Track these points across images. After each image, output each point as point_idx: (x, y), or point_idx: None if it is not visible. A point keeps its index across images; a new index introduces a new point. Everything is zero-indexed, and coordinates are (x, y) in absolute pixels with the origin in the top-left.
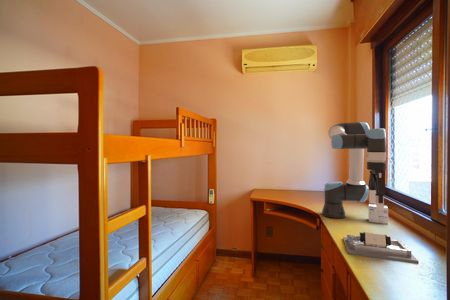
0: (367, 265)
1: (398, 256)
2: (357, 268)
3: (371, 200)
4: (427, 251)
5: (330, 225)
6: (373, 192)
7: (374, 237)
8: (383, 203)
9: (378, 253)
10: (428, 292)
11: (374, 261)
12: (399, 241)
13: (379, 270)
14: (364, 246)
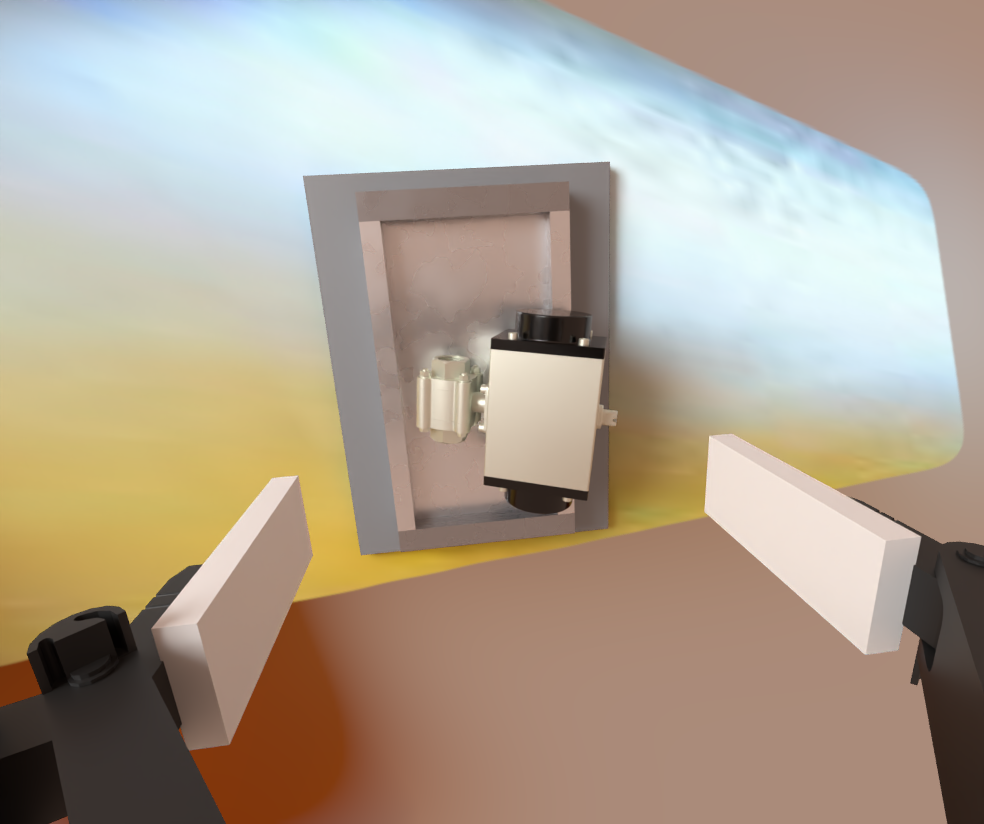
0: None
1: (579, 268)
2: None
3: (294, 558)
4: (345, 12)
5: None
6: (229, 633)
7: (601, 424)
8: (799, 476)
9: None
10: (914, 232)
11: (657, 405)
12: (382, 210)
13: (756, 396)
14: None
